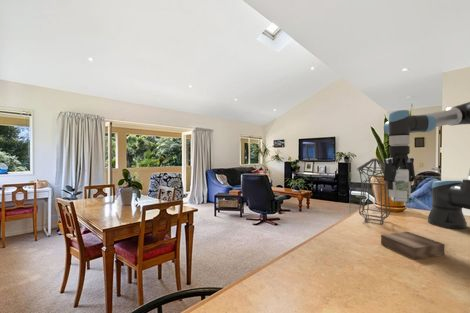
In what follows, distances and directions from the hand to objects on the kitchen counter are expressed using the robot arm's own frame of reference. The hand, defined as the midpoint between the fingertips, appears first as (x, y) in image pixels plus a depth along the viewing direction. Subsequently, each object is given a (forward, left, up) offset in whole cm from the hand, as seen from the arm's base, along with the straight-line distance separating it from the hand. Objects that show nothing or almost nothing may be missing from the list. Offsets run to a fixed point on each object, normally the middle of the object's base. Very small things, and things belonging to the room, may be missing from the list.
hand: (399, 196), depth 104 cm
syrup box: (0, 0, -2) cm, 2 cm away
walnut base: (+8, +12, -18) cm, 23 cm away
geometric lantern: (-7, -21, -18) cm, 29 cm away
